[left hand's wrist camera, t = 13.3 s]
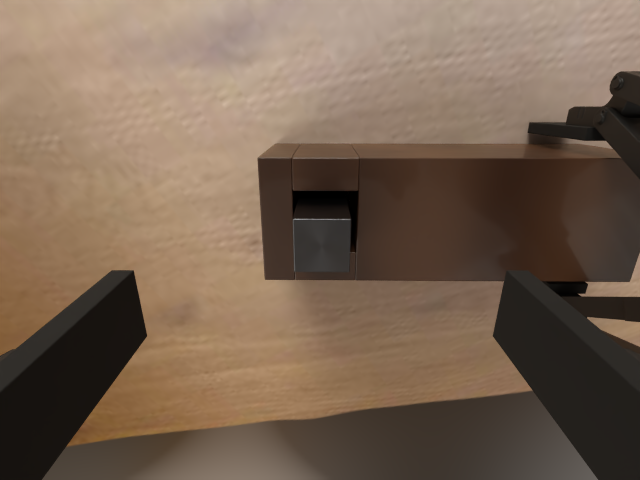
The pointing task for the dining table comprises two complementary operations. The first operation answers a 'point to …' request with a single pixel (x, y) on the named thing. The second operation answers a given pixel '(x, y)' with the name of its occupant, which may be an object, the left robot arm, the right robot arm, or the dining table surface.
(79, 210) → the dining table surface
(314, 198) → the peg
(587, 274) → the peg block
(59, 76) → the dining table surface
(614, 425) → the left robot arm
